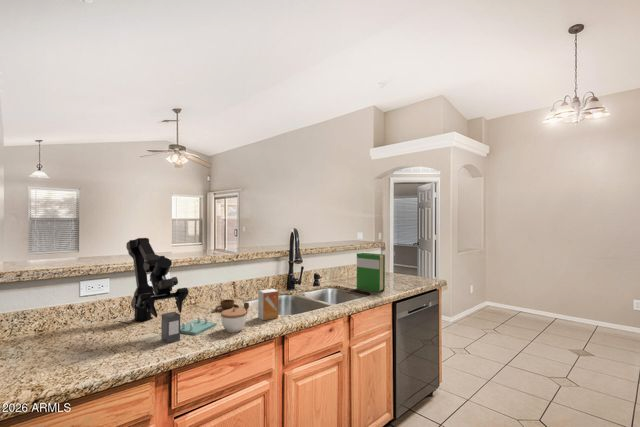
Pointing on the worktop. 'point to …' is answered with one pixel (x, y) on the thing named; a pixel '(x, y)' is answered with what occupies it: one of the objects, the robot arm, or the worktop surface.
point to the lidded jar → (233, 319)
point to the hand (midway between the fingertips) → (169, 314)
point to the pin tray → (196, 326)
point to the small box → (268, 304)
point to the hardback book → (371, 272)
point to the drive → (170, 327)
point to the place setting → (229, 305)
